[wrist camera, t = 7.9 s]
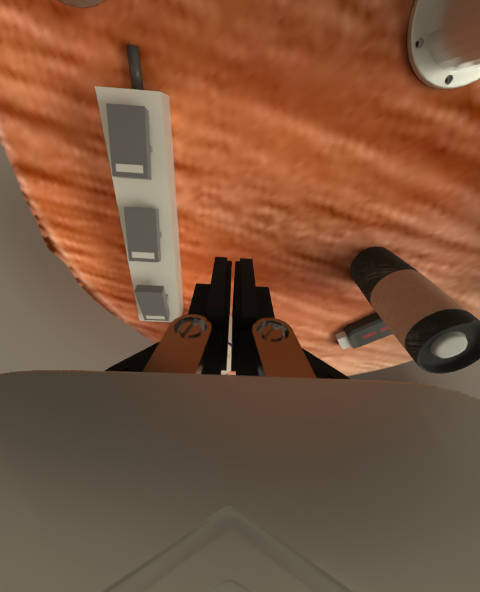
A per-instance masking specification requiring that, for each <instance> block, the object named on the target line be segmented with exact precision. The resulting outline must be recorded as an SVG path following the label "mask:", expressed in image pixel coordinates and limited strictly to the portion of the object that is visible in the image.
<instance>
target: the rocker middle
mask: <svg viewBox="0 0 480 592" xmlns="http://www.w3.org/2000/svg"><path fill="white" fill-rule="evenodd" d="M124 215H125V226H126V236H127V246H128V257H129V261H140V262H160V261H161V247H160V227H159V208H143V207H124Z"/></svg>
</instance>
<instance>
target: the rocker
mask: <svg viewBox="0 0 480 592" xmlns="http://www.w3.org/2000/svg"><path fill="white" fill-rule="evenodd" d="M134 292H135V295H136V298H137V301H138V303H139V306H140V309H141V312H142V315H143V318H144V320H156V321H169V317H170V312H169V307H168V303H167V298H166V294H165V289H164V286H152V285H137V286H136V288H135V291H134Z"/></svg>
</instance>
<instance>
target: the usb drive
mask: <svg viewBox="0 0 480 592" xmlns="http://www.w3.org/2000/svg"><path fill="white" fill-rule="evenodd" d="M391 334H393V333H392V331H391V330H390V329H389V328H388V326H387V325H386V324H385V323H384V321H383V320H382V319H381V317H380V316H379V315H378V314H377V313H375V314H373V315H370V316H368V317H366V318H363V319H361V320H359V321H356V322H354V323H352V324H349V325H348V326H347V327H346V328H345V329H344V331H342V332H340V333H337V334H335V336H336V338H337V340H338V342H339V344H340V346H341V348H342V349H346V348H348V347H351V346H352V347H353V348H357V347H361V346H363V345H366V344H368V343H371V342H373V341H376V340H378V339H381V338H383V337H386V336H388V335H391Z"/></svg>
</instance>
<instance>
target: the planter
mask: <svg viewBox="0 0 480 592" xmlns="http://www.w3.org/2000/svg"><path fill="white" fill-rule="evenodd" d="M59 1H61V2H63V3H65V4H68V5H70V6H74V7H80V8H88V7H93V6H96V5H98V4H100V3H101V2H103V1H104V0H59Z"/></svg>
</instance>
